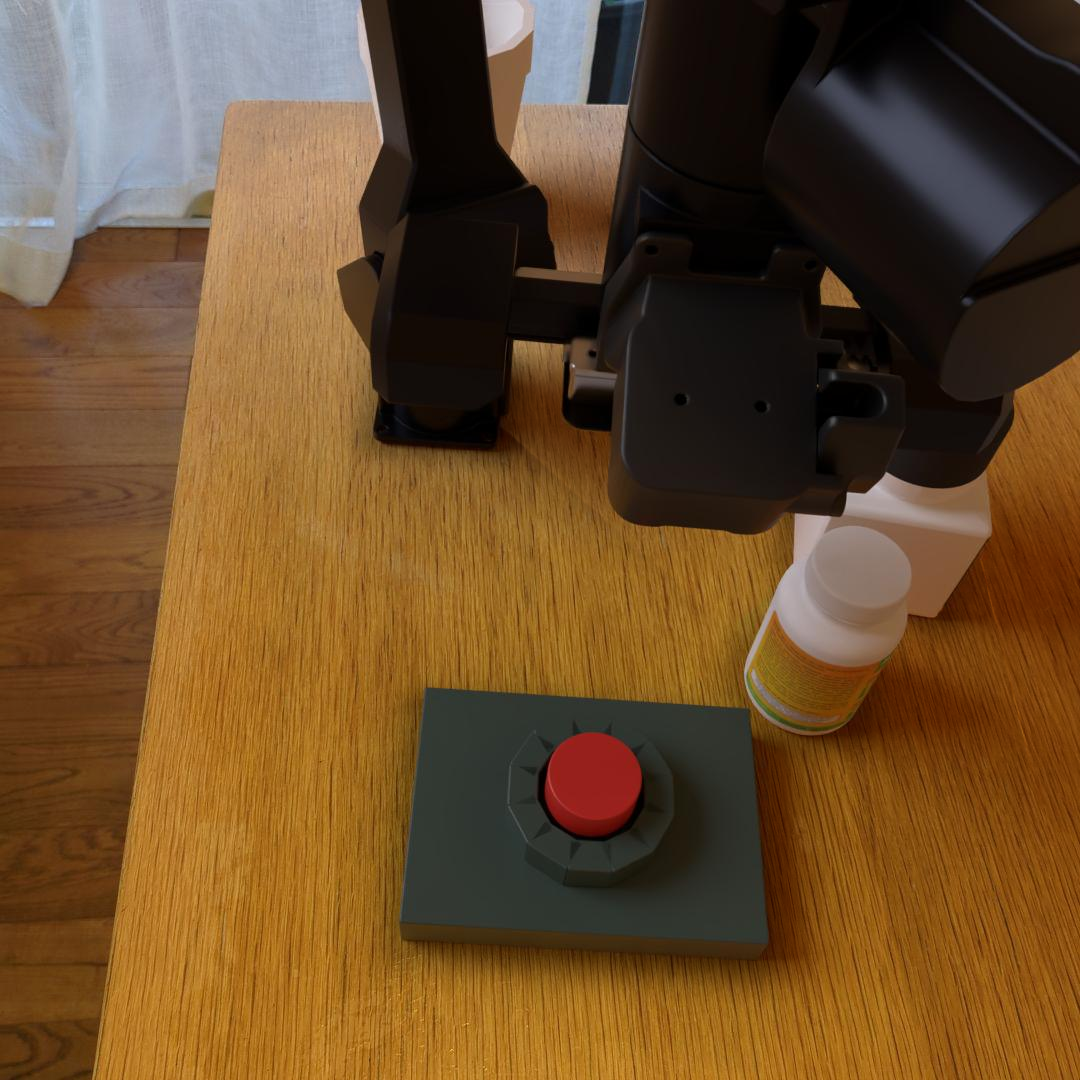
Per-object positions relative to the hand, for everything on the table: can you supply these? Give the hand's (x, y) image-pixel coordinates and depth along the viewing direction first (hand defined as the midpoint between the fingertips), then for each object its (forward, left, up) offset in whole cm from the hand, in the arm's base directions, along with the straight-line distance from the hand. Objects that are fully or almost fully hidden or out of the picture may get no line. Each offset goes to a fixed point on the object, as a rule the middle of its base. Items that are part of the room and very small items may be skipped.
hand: (646, 499), depth 41 cm
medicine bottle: (+13, +8, -13) cm, 20 cm away
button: (-1, -8, -9) cm, 12 cm away
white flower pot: (-10, +32, -13) cm, 36 cm away
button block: (-1, -8, -13) cm, 15 cm away
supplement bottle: (+9, 0, -13) cm, 16 cm away
